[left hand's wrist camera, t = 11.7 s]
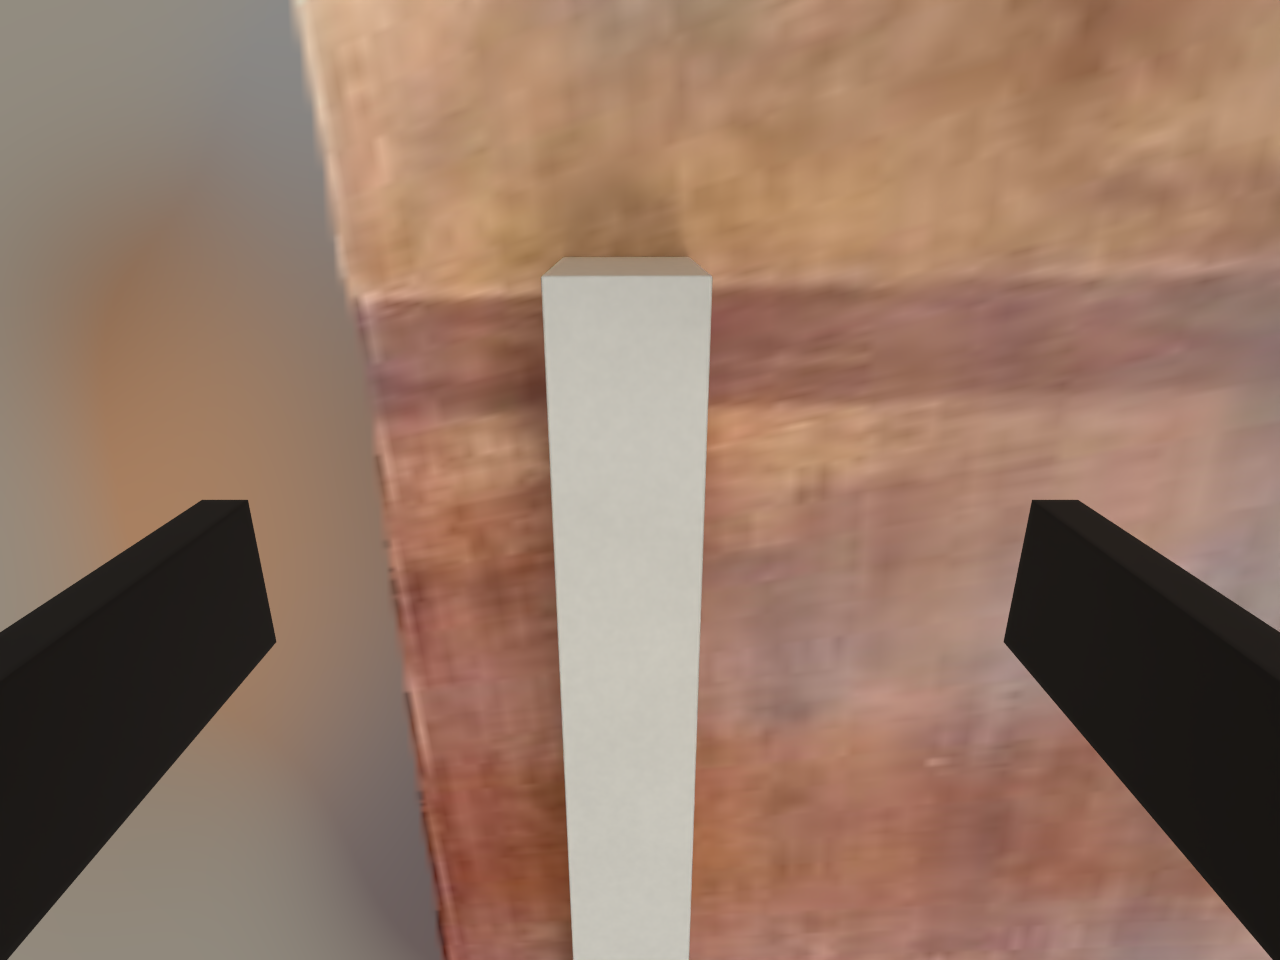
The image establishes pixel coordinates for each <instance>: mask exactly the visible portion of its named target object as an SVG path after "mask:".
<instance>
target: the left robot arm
mask: <svg viewBox="0 0 1280 960" xmlns="http://www.w3.org/2000/svg"><path fill="white" fill-rule="evenodd" d="M275 643H276V638H275V633H274V628H273V623H272V618H271V613H270V608H269V603H268V598H267V593H266V588H265V583H264V578H263V573H262V568H261V563H260V558H259V553H258V548H257V543H256V538H255V533H254V528H253V523H252V518H251V513H250V508H249V503H248V500H201V501H200V502H198V503H197V504H195V505H194V506H192V507H191V508H189V509H188V510H186V511H185V512H183V513H181V514H180V515H178V516H177V517H175V518H174V519H172V520H171V521H169V522H168V523H166V524H165V525H163V526H162V527H160V528H159V529H157V530H156V531H154V532H153V533H151V534H150V535H148V536H146V537H145V538H143V539H142V540H140V541H139V542H137V543H136V544H134V545H133V546H131V547H130V548H128V549H127V550H125V551H124V552H122V553H121V554H119V555H117V556H116V557H114V558H113V559H111V560H110V561H108V562H107V563H105V564H104V565H102V566H101V567H99V568H98V569H96V570H95V571H93V572H92V573H90V574H89V575H87V576H85V577H84V578H82V579H81V580H79V581H78V582H76V583H75V584H73V585H72V586H70V587H69V588H67V589H66V590H64V591H63V592H61V593H60V594H58V595H57V596H55V597H53V598H52V599H50V600H49V601H47V602H46V603H44V604H43V605H41V606H40V607H38V608H37V609H35V610H34V611H32V612H31V613H29V614H28V615H26V616H25V617H23V618H21V619H20V620H18V621H17V622H15V623H14V624H12V625H11V626H9V627H8V628H6V629H5V630H3V631H2V632H0V960H7V959H8V958H9V957H10V956H11V955H12V953H13V952H14V951H15V950H16V949H17V947H18V946H19V945H20V944H21V943H22V942H23V940H24V939H25V938H26V937H27V936H28V934H29V933H30V932H31V931H32V930H33V929H34V927H35V926H36V925H37V924H38V923H39V921H40V920H41V919H42V918H43V917H44V916H45V914H46V913H47V912H48V911H49V910H50V908H51V907H52V906H53V905H54V904H55V903H56V901H57V900H58V899H59V898H60V897H61V895H62V894H63V893H64V892H65V891H66V890H67V888H68V887H69V886H70V885H71V884H72V882H73V881H74V880H75V879H76V878H77V877H78V875H79V874H80V873H81V872H82V871H83V870H84V868H85V867H86V866H87V865H88V864H89V862H90V861H91V860H92V859H93V858H94V857H95V855H96V854H97V853H98V852H99V851H100V849H101V848H102V847H103V846H104V845H105V844H106V842H107V841H108V840H109V839H110V838H111V836H112V835H113V834H114V833H115V832H116V831H117V829H118V828H119V827H120V826H121V825H122V824H123V822H124V821H125V820H126V819H127V818H128V816H129V815H130V814H131V813H132V812H133V810H134V809H135V808H136V807H137V806H138V805H139V803H140V802H141V801H142V800H143V799H144V798H145V796H146V795H147V794H148V793H149V792H150V790H151V789H152V788H153V787H154V786H155V785H156V783H157V782H158V781H159V780H160V779H161V777H162V776H163V775H164V774H165V773H166V771H167V770H168V769H169V768H170V767H171V766H172V764H173V763H174V762H175V761H176V760H177V758H178V757H179V756H180V755H181V754H182V753H183V751H184V750H185V749H186V748H187V747H188V746H189V744H190V743H191V742H192V741H193V740H194V738H195V737H196V736H197V735H198V734H199V733H200V731H201V730H202V729H203V728H204V727H205V725H206V724H207V723H208V722H209V721H210V719H211V718H212V717H213V716H214V715H215V714H216V713H217V711H218V710H219V709H220V708H221V707H222V705H223V704H224V703H225V702H226V701H227V700H228V698H229V697H230V696H231V695H232V694H233V692H234V691H235V690H236V689H237V688H238V686H239V685H240V684H241V683H242V682H243V681H244V679H245V678H246V677H247V676H248V675H249V674H250V672H251V671H252V670H253V669H254V668H255V666H256V665H257V664H258V663H259V662H260V661H261V659H262V658H263V657H264V656H265V655H266V653H267V652H268V651H269V650H270V649H271V648H272V646H273V645H274V644H275ZM1004 643H1005V644H1006V645H1007V646H1008V648H1009V649H1010V650H1011V651H1012V652H1013V654H1014V655H1015V656H1016V657H1017V658H1018V659H1019V661H1020V662H1021V663H1022V664H1023V665H1024V666H1025V668H1026V669H1027V670H1028V671H1029V672H1030V674H1031V675H1032V676H1033V677H1034V678H1035V679H1036V681H1037V682H1038V683H1039V684H1040V685H1041V687H1042V688H1043V689H1044V690H1045V691H1046V692H1047V694H1048V695H1049V696H1050V697H1051V698H1052V700H1053V701H1054V702H1055V703H1056V704H1057V705H1058V707H1059V708H1060V709H1061V710H1062V711H1063V713H1064V714H1065V715H1066V716H1067V717H1068V718H1069V720H1070V721H1071V722H1072V723H1073V724H1074V726H1075V727H1076V728H1077V729H1078V730H1079V731H1080V733H1081V734H1082V735H1083V736H1084V737H1085V739H1086V740H1087V741H1088V742H1089V743H1090V744H1091V746H1092V747H1093V748H1094V749H1095V750H1096V751H1097V753H1098V754H1099V755H1100V756H1101V757H1102V759H1103V760H1104V761H1105V762H1106V763H1107V764H1108V766H1109V767H1110V768H1111V769H1112V770H1113V772H1114V773H1115V774H1116V775H1117V776H1118V777H1119V779H1120V780H1121V781H1122V782H1123V783H1124V785H1125V786H1126V787H1127V788H1128V789H1129V790H1130V792H1131V793H1132V794H1133V795H1134V796H1135V798H1136V799H1137V800H1138V801H1139V802H1140V803H1141V805H1142V806H1143V807H1144V808H1145V809H1146V811H1147V812H1148V813H1149V814H1150V815H1151V816H1152V818H1153V819H1154V820H1155V821H1156V822H1157V824H1158V825H1159V826H1160V827H1161V828H1162V829H1163V831H1164V832H1165V833H1166V834H1167V835H1168V836H1169V838H1170V839H1171V840H1172V841H1173V842H1174V844H1175V845H1176V846H1177V847H1178V848H1179V849H1180V851H1181V852H1182V853H1183V854H1184V855H1185V857H1186V858H1187V859H1188V860H1189V861H1190V862H1191V864H1192V865H1193V866H1194V867H1195V868H1196V870H1197V871H1198V872H1199V873H1200V874H1201V875H1202V877H1203V878H1204V879H1205V880H1206V881H1207V883H1208V884H1209V885H1210V886H1211V887H1212V888H1213V890H1214V891H1215V892H1216V893H1217V894H1218V896H1219V897H1220V898H1221V899H1222V900H1223V901H1224V903H1225V904H1226V905H1227V906H1228V907H1229V909H1230V910H1231V911H1232V912H1233V913H1234V914H1235V916H1236V917H1237V918H1238V919H1239V920H1240V921H1241V923H1242V924H1243V925H1244V926H1245V927H1246V929H1247V930H1248V931H1249V932H1250V933H1251V934H1252V936H1253V937H1254V938H1255V939H1256V940H1257V942H1258V943H1259V944H1260V945H1261V946H1262V947H1263V949H1264V950H1265V951H1266V952H1267V953H1268V955H1269V956H1270V957H1271V958H1272V959H1273V960H1280V632H1278V631H1277V630H1275V629H1274V628H1272V627H1271V626H1269V625H1268V624H1266V623H1265V622H1263V621H1262V620H1260V619H1259V618H1257V617H1255V616H1254V615H1252V614H1251V613H1249V612H1248V611H1246V610H1245V609H1243V608H1242V607H1240V606H1239V605H1237V604H1236V603H1234V602H1233V601H1231V600H1230V599H1228V598H1227V597H1225V596H1223V595H1222V594H1220V593H1219V592H1217V591H1216V590H1214V589H1213V588H1211V587H1210V586H1208V585H1207V584H1205V583H1204V582H1202V581H1201V580H1199V579H1198V578H1196V577H1195V576H1193V575H1191V574H1190V573H1188V572H1187V571H1185V570H1184V569H1182V568H1181V567H1179V566H1178V565H1176V564H1175V563H1173V562H1172V561H1170V560H1169V559H1167V558H1166V557H1164V556H1163V555H1161V554H1159V553H1158V552H1156V551H1155V550H1153V549H1152V548H1150V547H1149V546H1147V545H1146V544H1144V543H1143V542H1141V541H1140V540H1138V539H1137V538H1135V537H1134V536H1132V535H1131V534H1129V533H1127V532H1126V531H1124V530H1123V529H1121V528H1120V527H1118V526H1117V525H1115V524H1114V523H1112V522H1111V521H1109V520H1108V519H1106V518H1105V517H1103V516H1102V515H1100V514H1099V513H1097V512H1096V511H1094V510H1092V509H1091V508H1089V507H1088V506H1086V505H1085V504H1083V503H1082V502H1080V501H1079V500H1032V503H1031V508H1030V513H1029V518H1028V523H1027V528H1026V533H1025V538H1024V543H1023V548H1022V553H1021V558H1020V563H1019V568H1018V573H1017V578H1016V583H1015V588H1014V593H1013V598H1012V603H1011V608H1010V613H1009V618H1008V623H1007V628H1006V633H1005V638H1004Z"/></svg>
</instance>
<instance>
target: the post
mask: <svg viewBox="0 0 1280 960" xmlns="http://www.w3.org/2000/svg"><path fill="white" fill-rule="evenodd" d="M541 288H542V309H543V331H544V352H545V373H546V394H547V416H548V437H549V458H550V480H551V501H552V522H553V543H554V565H555V586H556V607H557V629H558V650H559V671H560V692H561V714H562V735H563V756H564V777H565V799H566V820H567V841H568V863H569V884H570V905H571V926H572V948H573V960H689V945H690V916H691V887H692V858H693V829H694V800H695V771H696V742H697V713H698V684H699V655H700V625H701V596H702V567H703V538H704V509H705V480H706V451H707V422H708V393H709V364H710V335H711V306H712V276H711V275H710V274H709V273H708V272H707V271H705V270H704V269H703V268H702V267H701V266H699V265H698V264H697V263H696V262H695V261H693V260H692V259H691V258H690V257H563V258H562V259H560V260H559V261H558V262H557V263H556V264H555V265H554V266H553V267H551V268H550V269H549V270H548V271H547V272H546V273H545V274H544V275H542V277H541Z"/></svg>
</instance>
